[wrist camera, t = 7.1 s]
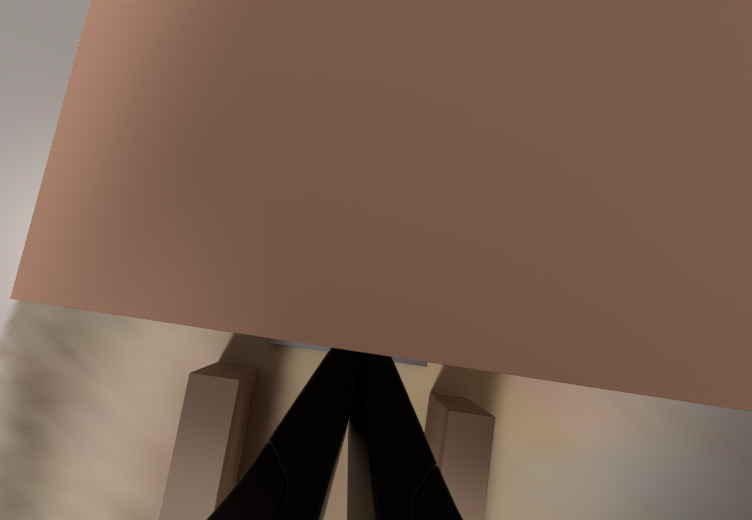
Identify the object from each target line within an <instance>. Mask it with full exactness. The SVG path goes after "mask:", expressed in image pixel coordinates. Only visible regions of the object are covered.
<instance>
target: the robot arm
mask: <svg viewBox="0 0 752 520" xmlns="http://www.w3.org/2000/svg"><path fill="white" fill-rule="evenodd" d="M348 421H349V427H348V494H347V520H463V518H462V516H461V514H460V512H459V510H458V509H457V506H456V504H455V502H454V500H453V498H452V496H451V493H450V491H449V489H448V487H447V485H446V482H445V480H444V478H443V475H442V473H441V471H440V468H439V467H438V466H436V465H437V462H436V460H435V457H434V455H433V452H432V450H431V448H430V445H429V443H428V441H427V438H426V436H425V434H424V431H423V429H422V427H421V424H420V422H419V420H418V417H417V415H416V413H415V410H414V408H413V406H412V403H411V401H410V399H409V396H408V394H407V392H406V389H405V387H404V385H403V382H402V380H401V378H400V375H399V373H398V371H397V368H396V366H395V364H394V361H393V359H392V357H391V356H384V355H378V354H371V353H364V352H358V351H351V350H345V349H338V348H332V347H331V349H330V350H329V351H328V353H327V354H326V356H325V357H324V359H323V360H322V362H321V363H320V365H319V366H318V368H317V369H316V371H315V372H314V374H313V375H312V376H311V378H310V379H309V381H308V382H307V384H306V385H305V387H304V388H303V390H302V391H301V393H300V394H299V396H298V397H297V398H296V400H295V401H294V403H293V404H292V406H291V407H290V409H289V410H288V412H287V413H286V415H285V416H284V418H283V419H282V420H281V422H280V423H279V425H278V426H277V428H276V429H275V431H274V432H273V434H272V435H271V437H270V438H269V440H268V443H266V444H265V445H264V447H263V448H262V449H261V451H260V452H259V454H258V455H257V457H256V458H255V460H254V461H253V462H252V464H251V465H250V466H249V468H248V469H247V471H246V472H245V473H244V475H243V476H242V477H241V479H240V480H239V481H238V483H237V484H236V485H235V486H234V488H233V489H232V490H231V491H230V492H229V494H228V495H227V496H226V497H225V499H224V500H223V501H222V502H221V503H220V505H219V506H218V507H217V508H216V509H215V510H214V512H213V513H212V514H211V515H210V516H209V517H208V518H207V520H323V518H324V514H325V510H326V507H327V503H328V499H329V495H330V491H331V487H332V484H333V480H334V476H335V472H336V468H337V464H338V461H339V457H340V453H341V449H342V445H343V442H344V438H345V434H346V430H347V425H348Z"/></svg>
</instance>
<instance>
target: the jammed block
mask: <svg viewBox="0 0 752 520" xmlns="http://www.w3.org/2000/svg"><path fill="white" fill-rule="evenodd" d="M10 299H16V300H23V301H29V302H36V303H42V304H49V305H55V306H62V307H69V308H75V309H82V310H88V311H95V312H101V313H108V314H115V315H121V316H128V317H134V318H141V319H147V320H154V321H161V322H167V323H174V324H180V325H187V326H193V327H200V328H207V329H213V330H220V331H226V332H233V333H240V334H246V335H253V336H259V337H266V338H272V339H279V340H286V341H292V342H299V343H305V344H312V345H318V346H325V347H332V348H338V349H345V350H351V351H358V352H364V353H371V354H378V355H384V356H391V357H397V358H404V359H410V360H417V361H424V362H430V363H437V364H443V365H450V366H456V367H463V368H470V369H476V370H483V371H489V372H496V373H503V374H509V375H516V376H522V377H529V378H535V379H542V380H549V381H555V382H562V383H568V384H575V385H581V386H588V387H595V388H601V389H608V390H614V391H621V392H627V393H634V394H641V395H647V396H654V397H660V398H667V399H673V400H680V401H687V402H693V403H700V404H706V405H713V406H720V407H726V408H733V409H739V410H746V411H752V0H91V2H90V5H89V9H88V13H87V17H86V20H85V24H84V28H83V31H82V35H81V39H80V42H79V46H78V50H77V54H76V57H75V61H74V65H73V68H72V73H71V76H70V79H69V83H68V87H67V91H66V94H65V98H64V102H63V105H62V109H61V113H60V117H59V120H58V124H57V128H56V132H55V135H54V139H53V143H52V146H51V150H50V154H49V157H48V161H47V165H46V168H45V172H44V176H43V179H42V184H41V187H40V191H39V194H38V198H37V202H36V206H35V210H34V213H33V217H32V220H31V224H30V228H29V231H28V235H27V239H26V242H25V247H24V250H23V254H22V257H21V261H20V265H19V268H18V272H17V276H16V280H15V283H14V287H13V291H12V294H11V298H10Z"/></svg>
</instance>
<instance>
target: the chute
mask: <svg viewBox="0 0 752 520" xmlns="http://www.w3.org/2000/svg"><path fill="white" fill-rule="evenodd" d="M270 343H274V344H280V345H287V346H293V347H300V348H307V349H313V350H320V351H326V352H328V351H329V350H330V349H331V347H325V346H318V345H312V344H305V343H299V342H292V341H286V340H279V339H272V338H271V339H270ZM392 359H393V361H394V362H399V363H406V364H412V365H419V366H426V367H427V362H424V361H417V360H410V359H404V358H397V357H392ZM257 369H258V368H253V367H246V366H240V365H233V364H226V363H219V362H217V363H214V364H212V365H209V366H206V367H204V368H201V369H199V370H196V371H194V372H191V373H190V374H189V379H188V384H187V388H186V393H185V398H184V403H183V408H182V412H181V417H180V422H179V427H178V432H177V436H176V441H175V446H174V451H173V456H172V460H171V465H170V470H169V475H168V480H167V484H166V489H165V494H164V499H163V504H162V508H161V513H160V518H159V520H207V518H208V517H209V516H210V515H211V514H212V513H213V512H214V510H215V509H216V508H217V507H218V506H219V505H220V503H221V502H222V501H223V500H224V499H225V497H226V496H227V495H228V494H229V492H230V491H231V490H232V489H233V488H234V486H235V485H236V481H237V476H238V470H239V465H240V460H241V454H242V449H243V444H244V439H245V433H246V428H247V423H248V417H249V412H250V407H251V401H252V396H253V391H254V385H255V380H256V375H257ZM494 423H495V417H494V416H492V415H491V414H489V413H488V412H486V411H485V410H483V409H482V408H480V407H479V406H477V405H476V404H474V403H473V402H471V401H470V400H468V399H463V398H456V397H450V396H443V395H436V394H430V396H429V404H428V411H427V418H426V426H425V433H424V434H425V436H426V438H427V441H428V443H429V445H430V448H431V450H432V452H433V455H434V457H435V460H436V462H437V465H436V466H438V467H439V468H440V471H441V473H442V475H443V478H444V480H445V482H446V485H447V487H448V489H449V491H450V493H451V496H452V498H453V500H454V502H455V504H456V506H457V509H458V510H459V512H460V514H461V516H462V518H463V520H484V512H485V503H486V494H487V485H488V476H489V468H490V459H491V450H492V441H493V432H494Z"/></svg>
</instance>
